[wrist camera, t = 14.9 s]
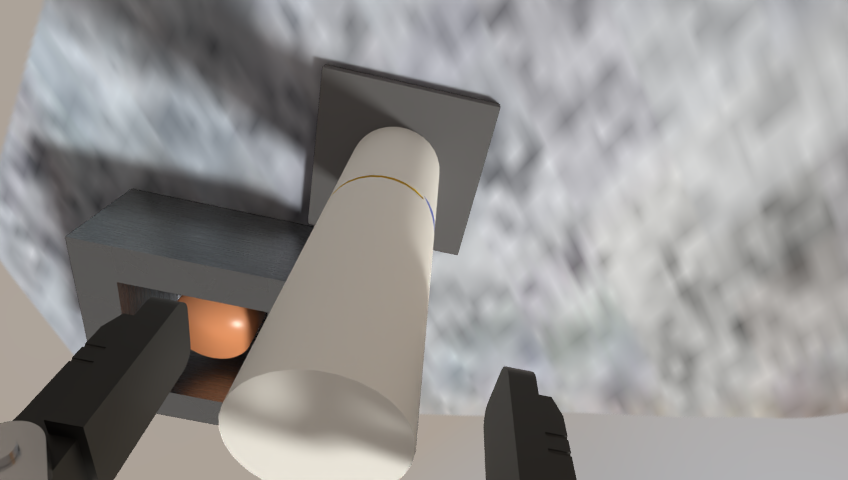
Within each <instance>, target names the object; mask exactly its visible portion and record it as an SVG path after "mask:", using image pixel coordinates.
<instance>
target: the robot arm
mask: <svg viewBox="0 0 848 480" xmlns="http://www.w3.org/2000/svg"><path fill="white" fill-rule="evenodd" d="M190 349H191V343H190V331H189V319H188V308H187V305H186V303H184V302H179V301H174V300H169V299H163V298H158V297H151V298H149V299H148V300H147V301H146V302H145V303H144V305H143V306H142V307H141V308H140V309H139V310H138V311H137V313H136V314H135V315H130V314H125V313H123V314H121V315H120V316H118V317H116V318H115V319H113V320H111V321H109V322H108V323H106V324H104V325H103V326H101V327H100V328H99V329H98V330H97V331H96V332H95V334H94V335H93V336H92V337H91V338H90V339H89V340H88V341H87V342H86V343H85V346H84V347H82V348H81V349H80V350H79V351H78V352H77V353H76V354H75V355H74V356H73V357H72V360H71V361H69V362H68V363H67V364H66V365H65V366H64V367H63V368H62V369H61V370H60V371H59V372H58V373H57V374H56V376H55V377H54V378H53V379H52V380H51V381H50V382H49V383H48V384H47V385H46V386H45V387H44V389H43V390H42V391H41V392H40V393H39V394H38V395H37V396H36V397H35V398H34V399H33V400H32V401H31V403H30V404H29V405H28V406H27V407H26V408H25V409H24V410H23V411H22V412H21V413H20V414H19V415H18V416H17V417H16V418H15V419H14V420H13V421H9V422H4V423H0V480H113V479H114V478H115V477H116V475H117V473H118V472H119V470H120V469H121V467H122V466H123V464H124V463H125V461H126V460H127V458H128V456H129V455H130V453H131V452H132V450H133V449H134V447H135V446H136V444H137V442H138V441H139V439H140V438H141V436H142V434H143V433H144V432H145V430H146V428H147V427H148V425H149V424H150V422H151V421H152V419H153V418H154V416H155V414H156V413H157V411H158V410H159V408H160V407H161V405H162V404H163V402H164V400H165V399H166V397H167V396H168V394H169V393H170V391H171V390H172V388H173V386H174V385H175V383H176V382H177V380H178V379H179V377H180V376H181V374H182V372H183V371H184V369H185V367H186V365H187V362H188V359H189V355H190ZM484 447H485V469H486V480H576V475H575V470H574V466H573V461H572V457H571V456H570V453H571V451H570V446H569V442H568V440H567V432H566V428H565V423H564V418H563V415H562V413H561V412H560V410H559V409H558V407H557V405H556V404H555V402H554V401H553V399H552V397H548V396H543V395H539V393H538V387H537V381H536V376H535V374H534V372H531V371H526V370H521V369H516V368H510V367H503V369H502V370H501V373H500V375H499V377H498V380H497V382H496V385H495V387H494V390H493V392H492V394H491V397H490V399H489V402H488V404H487V407H486V412H485V417H484Z"/></svg>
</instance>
